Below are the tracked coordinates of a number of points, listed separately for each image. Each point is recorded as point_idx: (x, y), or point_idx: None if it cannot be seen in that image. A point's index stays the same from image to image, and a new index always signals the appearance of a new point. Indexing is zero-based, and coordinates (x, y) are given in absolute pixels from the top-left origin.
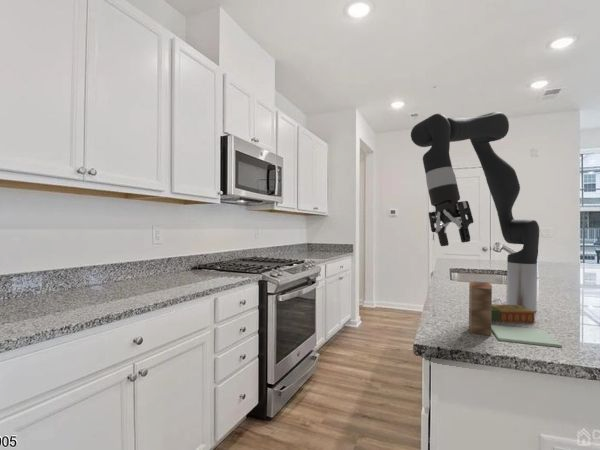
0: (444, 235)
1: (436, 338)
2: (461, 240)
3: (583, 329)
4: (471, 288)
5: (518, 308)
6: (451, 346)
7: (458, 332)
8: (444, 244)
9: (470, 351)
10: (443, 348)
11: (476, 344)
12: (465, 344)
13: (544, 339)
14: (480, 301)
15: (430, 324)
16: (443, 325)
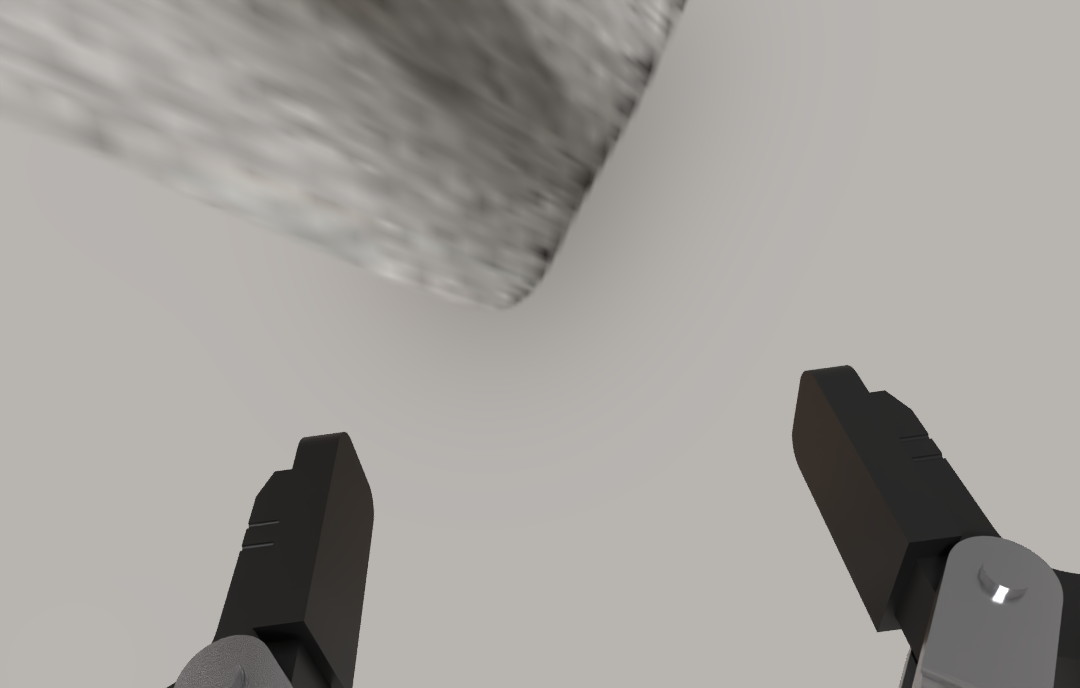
0: (327, 598)
1: (425, 212)
2: (810, 470)
3: None
4: None
5: None
6: (541, 190)
7: (306, 22)
8: (359, 491)
9: (609, 132)
10: (562, 238)
11: (523, 39)
12: (519, 103)
13: None
14: None
15: (130, 131)
16: (140, 44)
